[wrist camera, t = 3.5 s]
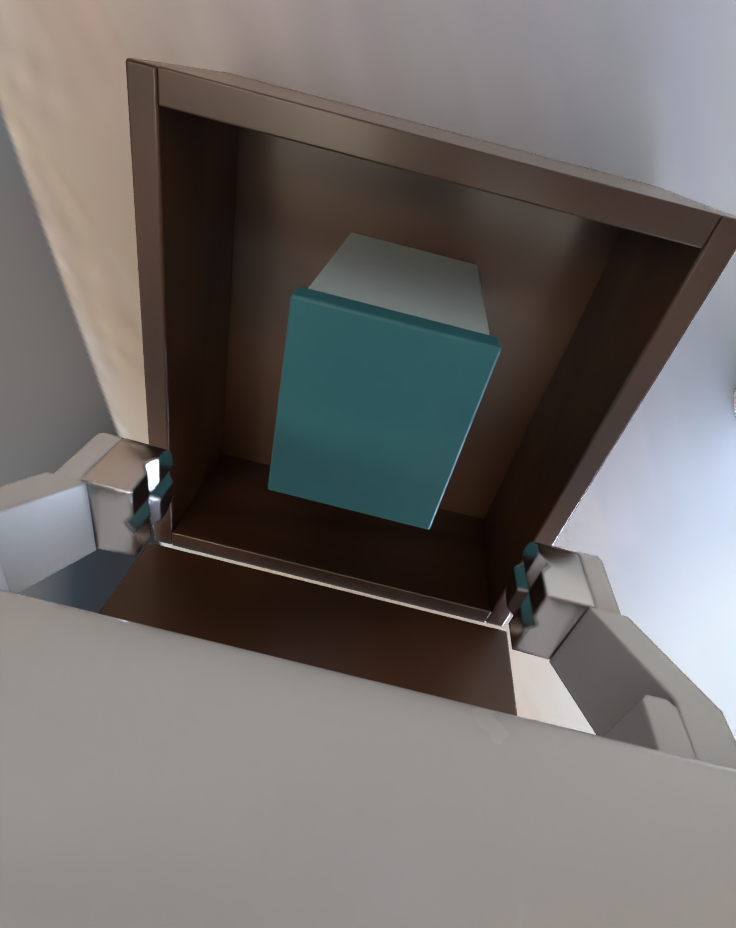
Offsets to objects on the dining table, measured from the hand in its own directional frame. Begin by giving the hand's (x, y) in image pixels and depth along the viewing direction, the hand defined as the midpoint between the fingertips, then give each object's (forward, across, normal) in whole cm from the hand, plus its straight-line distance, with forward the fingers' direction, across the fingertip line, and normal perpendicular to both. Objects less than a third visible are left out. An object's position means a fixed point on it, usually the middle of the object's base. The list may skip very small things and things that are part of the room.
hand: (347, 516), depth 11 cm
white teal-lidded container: (+12, 0, 0) cm, 12 cm away
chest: (+13, 0, +1) cm, 13 cm away
